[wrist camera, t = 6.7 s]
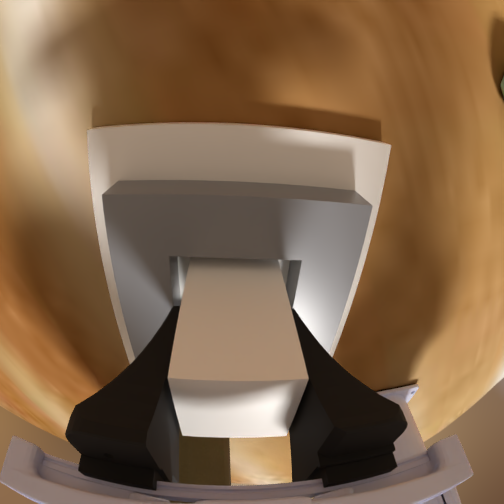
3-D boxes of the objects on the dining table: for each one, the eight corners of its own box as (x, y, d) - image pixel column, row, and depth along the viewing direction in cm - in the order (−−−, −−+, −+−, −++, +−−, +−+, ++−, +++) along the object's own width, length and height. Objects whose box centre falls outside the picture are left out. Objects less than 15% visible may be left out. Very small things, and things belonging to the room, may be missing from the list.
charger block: (268, 320, 16) (286, 435, 10) (194, 318, 16) (182, 435, 9) (277, 256, 14) (308, 378, 8) (191, 253, 14) (167, 377, 7)
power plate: (322, 363, 21) (332, 395, 18) (134, 360, 19) (126, 392, 17) (381, 141, 13) (413, 154, 10) (95, 127, 12) (65, 136, 9)
